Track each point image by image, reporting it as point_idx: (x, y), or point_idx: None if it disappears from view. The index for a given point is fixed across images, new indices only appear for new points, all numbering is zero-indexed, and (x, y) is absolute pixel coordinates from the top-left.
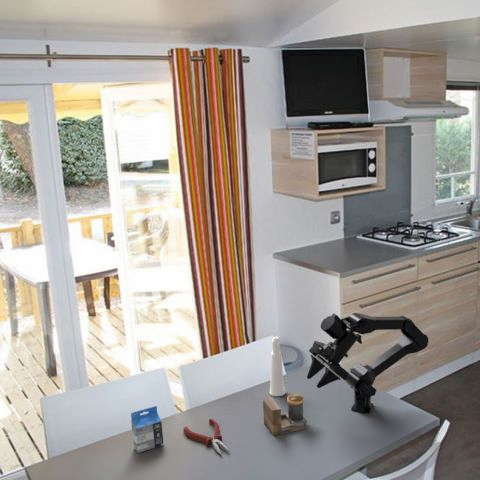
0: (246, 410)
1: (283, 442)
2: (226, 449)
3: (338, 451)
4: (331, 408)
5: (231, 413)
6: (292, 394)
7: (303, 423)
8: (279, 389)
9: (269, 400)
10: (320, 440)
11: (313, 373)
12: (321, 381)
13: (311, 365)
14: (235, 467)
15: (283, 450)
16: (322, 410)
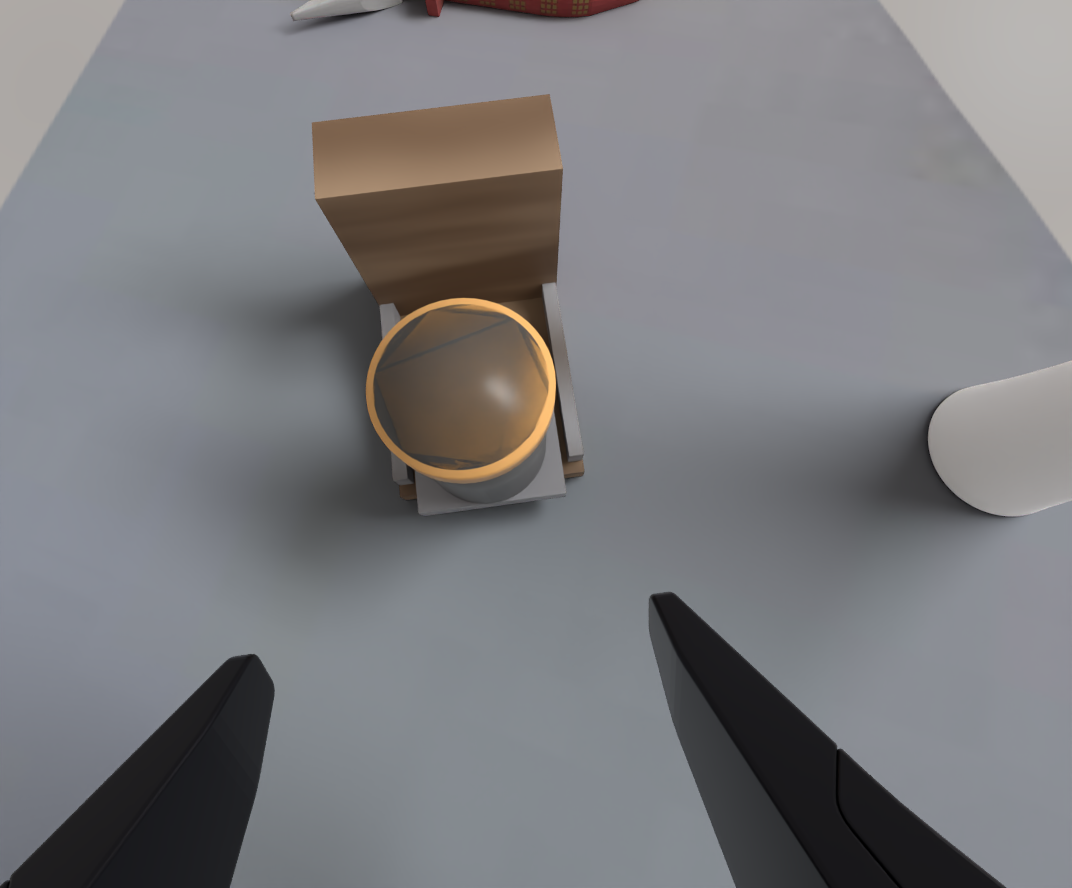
0: (751, 189)
1: (294, 313)
2: (315, 4)
3: (35, 633)
4: (642, 829)
5: (730, 102)
6: (554, 376)
7: (393, 479)
8: (982, 438)
9: (513, 141)
10: (217, 555)
11: (705, 770)
12: (97, 794)
13: (894, 828)
14: (171, 38)
15: (211, 291)
16: (627, 730)
